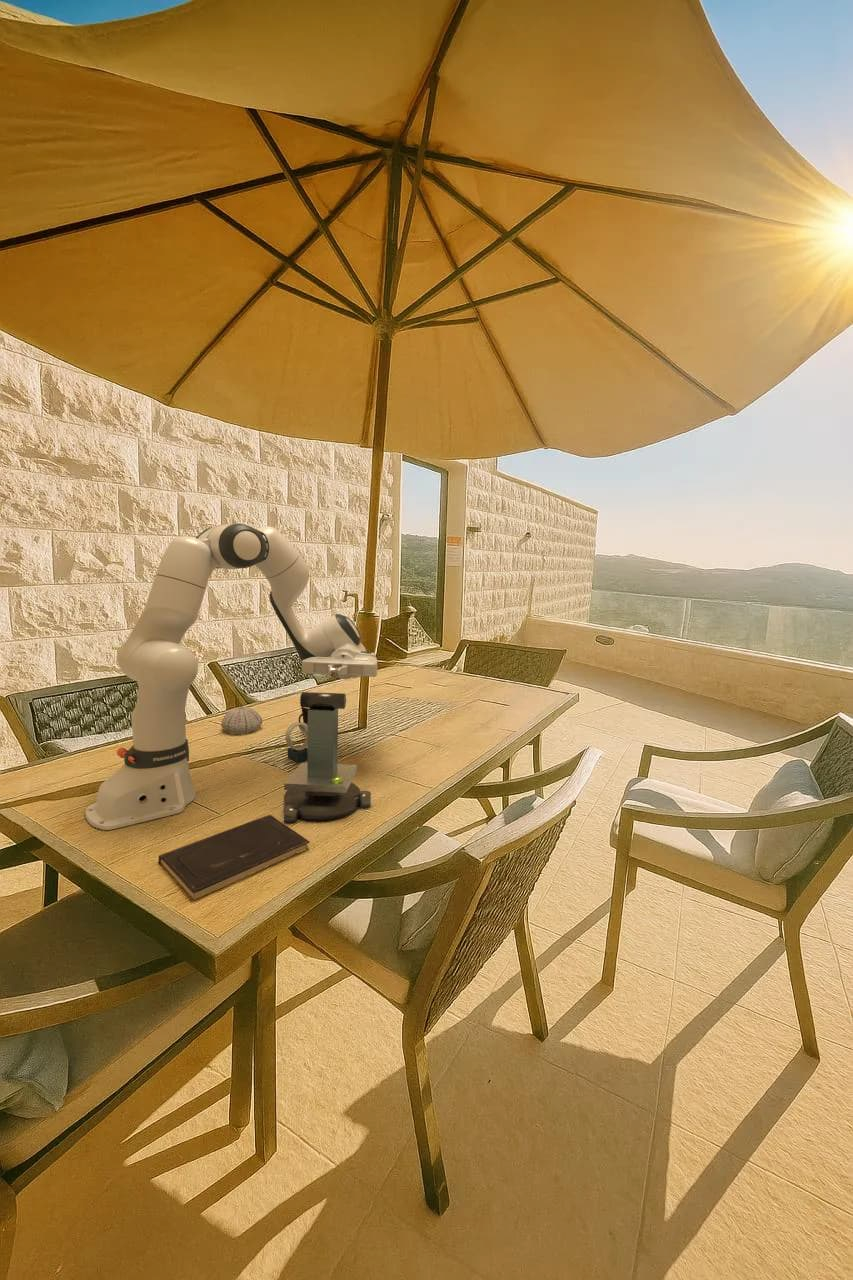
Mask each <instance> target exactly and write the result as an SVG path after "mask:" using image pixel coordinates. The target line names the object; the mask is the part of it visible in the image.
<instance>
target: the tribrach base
mask: <svg viewBox="0 0 853 1280" xmlns="http://www.w3.org/2000/svg"><path fill="white" fill-rule="evenodd" d="M371 805H372V793H371V791H369V790H361V789H360V787H359V786H358V785H356V784H355V783H354V782H353V781H352V782H351V784H350V786H349V788H348V790H347V792H346V793H340V792H317V791H294V790H285V792H284V795H283V824H285V825H293V823H294V824H297V823H298V822H299V821H301V822H306V823H327V822H334V821H337V820H341V819H344V818H346V816H347V817H348V816H350V815H352V814H354V813H355V812H356V811H358V810H359V809H363V810H364V809H369V808H371ZM340 818H341V819H340ZM297 821H298V822H297Z"/></svg>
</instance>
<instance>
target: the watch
mask: <svg viewBox="0 0 853 1280" xmlns="http://www.w3.org/2000/svg"><path fill="white" fill-rule="evenodd" d="M297 727H298V728H299V730H300V732H301V733H302V735H304V737H305V740H304V742H303V743H302V744H298V745H295V744H294V742H293V740H292V737H291V734H292V732H293V731H294V729H295V728H297ZM285 731H286V732H285V735H284V736H285V739H284V740H285V742H286V743H287V745H288V747H287V759H289V760H290V761H291V762H293V761H294V762H293V763H295V764H298V763H299V764H301V763H306V762H307V757H308V725H307V724H305V723H304V722H303V721H302V722H301V723H300V722H299V721H297V722H292V724H291V725H289V726H288V727H287V729H286V730H285Z"/></svg>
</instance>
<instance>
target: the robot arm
mask: <svg viewBox="0 0 853 1280" xmlns="http://www.w3.org/2000/svg"><path fill="white" fill-rule="evenodd" d="M254 566H255V567H257V569H259V571H260V572H261V574H262V575H263V576H264V577H265V578H266V580H267V581H268V583H269V586H270V589H271V590H270V593H269V594H268V596H269V601H270V605H271V606H272V608H273V610H274V612H275V614H276V617H277V618H278V619H279V622H280V623H281V625H282V626H283V628H284V630H285V632H286V633H287V636H288V637H289V638H290V640H291V642H292V644H293V646H294V648H295V651H296V652H297V654H298V655H297V656H298V657H299V658H300V659H301V672H302V673H303V674H306V675H307V674H308V675H328V676H334V677H336V678H339V679H341V680H349V679H351V678H352V679H353V678H359V677H369V678H372V677H374V678H375V677H377V675H378V659H377V656H376V655H377V654H376V653H375V652H369V651H367V649H366V647H365V646H364V645H363V644H362V642H361V640H362V638H361V634H360V631H359V628H358V627H357V626H356V624H355V622H354V621H353V620H352V619H350V617H348V616H345V615H344V614H340V613H335V614H333V615H332V616H330V617H328V618H326V619H325V620H323V621H322V622H320V623H318V624H317V625H315V626H313V627H312V628H310V629H304V628H303V626H302V625H301V622H300V621H299V620H298V617H297V615H296V614H295V612H294V610H293V606H294V604H295V603H296V601H297V599H298V598H299V597H300V596H301V594H303V592H304V590H305V589H306V587H307V586H308V582H309V580H310V569H309V566H308V564H307V562H306V561H305V560H304V558H303V556H302V555H301V554H300V553H299V551H298V550H297V549H296V548H295V547H294V545H293V544H292V542H290V541H289V539H287V537H286V536H285V535H283V533H281V532H280V531H279V530H278V529H277V528H276V527H274V526H262V527H259V528H257V529H255V528H254V527H252V526H250V525H248V524H245V523H233V524H232V523H222V524H218V525H215V526H210V527H207V528H205V529H204V530H203V531H202V532H200V533H199V534H198V535H196V537H194V536H189V535H188V536H186V535H184V536H177V537H175V538H173V539H172V540H171V541H170V543H169V544H168V546H167V548H166V550H165V552H164V554H163V556H162V558H161V560H160V562H159V564H158V567H157V570H156V572H155V574H154V575H155V576H154V578H153V582H152V585H151V588H150V591H149V594H148V597H147V601H146V603H145V606H144V608H143V610H142V613H141V614H140V616H139V617H138V619H137V621H136V623H135V625H134V626H133V628H132V630H131V631H130V634H129V636H128V638H127V639H126V640H125V641H124V642H123V643H122V644H121V645H120V647H118V650H117V652H116V653H117V654H116V663H117V665H118V667H119V668H120V670H121V671H122V673H123V674H124V675H125V676H126V677H127V678H129V679H130V680H133V681H135V682H136V683H137V686H138V690H137V691H138V692H137V699H136V704H135V707H134V709H133V711H132V712H131V731H132V746H131V747H130V748H129V749H127V748H125V747H119V748H118V749H117V751H116V755H117V756H118V757H119V758H121V759H123V760H124V762H123V763H124V764H123V765H122V766H121V767H119V768H118V769H117V770H116V771H115V772H114V773H113V774H111V775H110V776H109V777H108V778H106V779H105V780H104V781H103V782H102V783H101V784H100V786H99V788H98V791H97V796H96V802H94V803H92V804H90V805H88V806H87V808H86V810H85V815H86V816H85V820H86V819H87V820H86V821H87V822H88V823H89V824H90V825H91V826H92V827H94V828H95V827H96V828H95V829H98V828H99V829H98V830H103V831H111V830H115V829H120V828H123V827H127V826H131V825H132V826H133V825H136V824H140V823H144V822H149V821H152V820H157V819H160V818H164V817H169V816H172V815H177V814H180V813H183V811H184V810H185V809H186V806H187V805H188V804H190V803H191V802H192V801H193V800H194V799H195V798H196V795H197V793H196V790H195V789H194V785H193V782H192V779H191V774H190V769H189V762H190V760H189V759H190V757H189V756H190V749H189V748H190V747H189V741H188V739H187V733H186V731H187V730H186V729H187V728H186V706H187V700H188V695H189V691H190V686H191V685H192V683H193V682H194V681H195V679H196V678H197V675H198V672H199V665H198V664H199V663H198V661H197V659H196V656H195V655H193V653H192V652H191V651H190V650H189V649H188V648H186V647H185V646H183V645H181V644H180V643H181V642H182V639H183V637H184V636H185V634H186V633H187V631H188V630H189V629H190V628H191V627H192V626H193V625H194V624H195V623H196V621H197V620H198V617H199V614H200V613H199V612H200V610H201V607H202V604H203V600H204V597H205V593H206V589H207V587H208V583H209V579H210V577H211V575H212V573H213V572H214V571H215V570H216V569H225V570H238V569H248V568H251V567H254ZM329 656H330V657H329Z"/></svg>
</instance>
